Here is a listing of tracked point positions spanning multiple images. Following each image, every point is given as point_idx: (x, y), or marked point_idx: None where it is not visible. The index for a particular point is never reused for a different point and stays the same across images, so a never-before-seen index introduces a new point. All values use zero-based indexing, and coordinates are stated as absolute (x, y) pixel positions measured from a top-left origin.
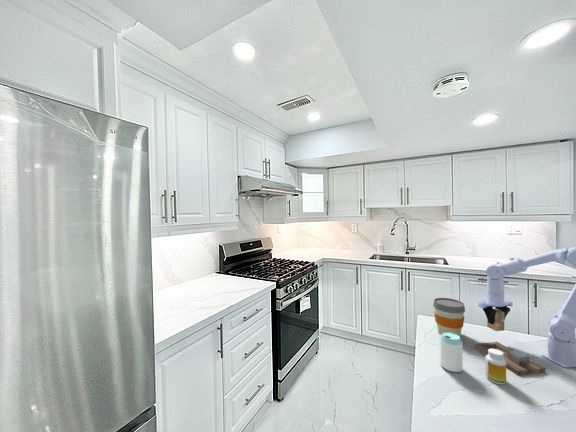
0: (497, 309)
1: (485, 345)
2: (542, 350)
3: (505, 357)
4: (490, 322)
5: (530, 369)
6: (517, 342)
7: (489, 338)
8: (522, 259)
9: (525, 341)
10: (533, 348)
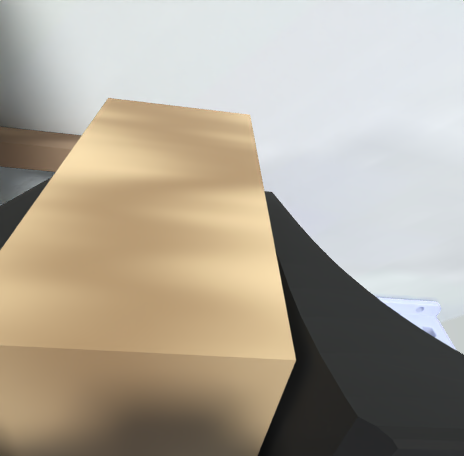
0: (260, 408)
1: (3, 161)
2: (392, 259)
3: None
4: None
5: None
6: (375, 150)
7: (207, 18)
8: None
9: (456, 155)
10: (371, 233)
